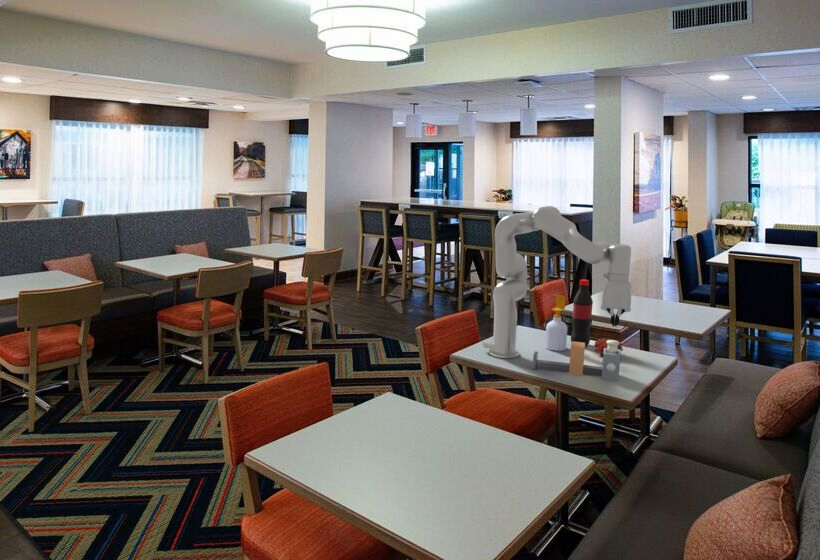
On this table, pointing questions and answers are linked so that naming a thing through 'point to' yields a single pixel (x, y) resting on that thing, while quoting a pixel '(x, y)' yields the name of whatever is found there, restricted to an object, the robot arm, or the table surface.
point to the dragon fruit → (603, 345)
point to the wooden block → (577, 358)
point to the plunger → (612, 346)
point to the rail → (563, 367)
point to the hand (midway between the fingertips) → (614, 325)
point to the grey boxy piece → (611, 365)
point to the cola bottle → (582, 314)
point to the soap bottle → (557, 328)
